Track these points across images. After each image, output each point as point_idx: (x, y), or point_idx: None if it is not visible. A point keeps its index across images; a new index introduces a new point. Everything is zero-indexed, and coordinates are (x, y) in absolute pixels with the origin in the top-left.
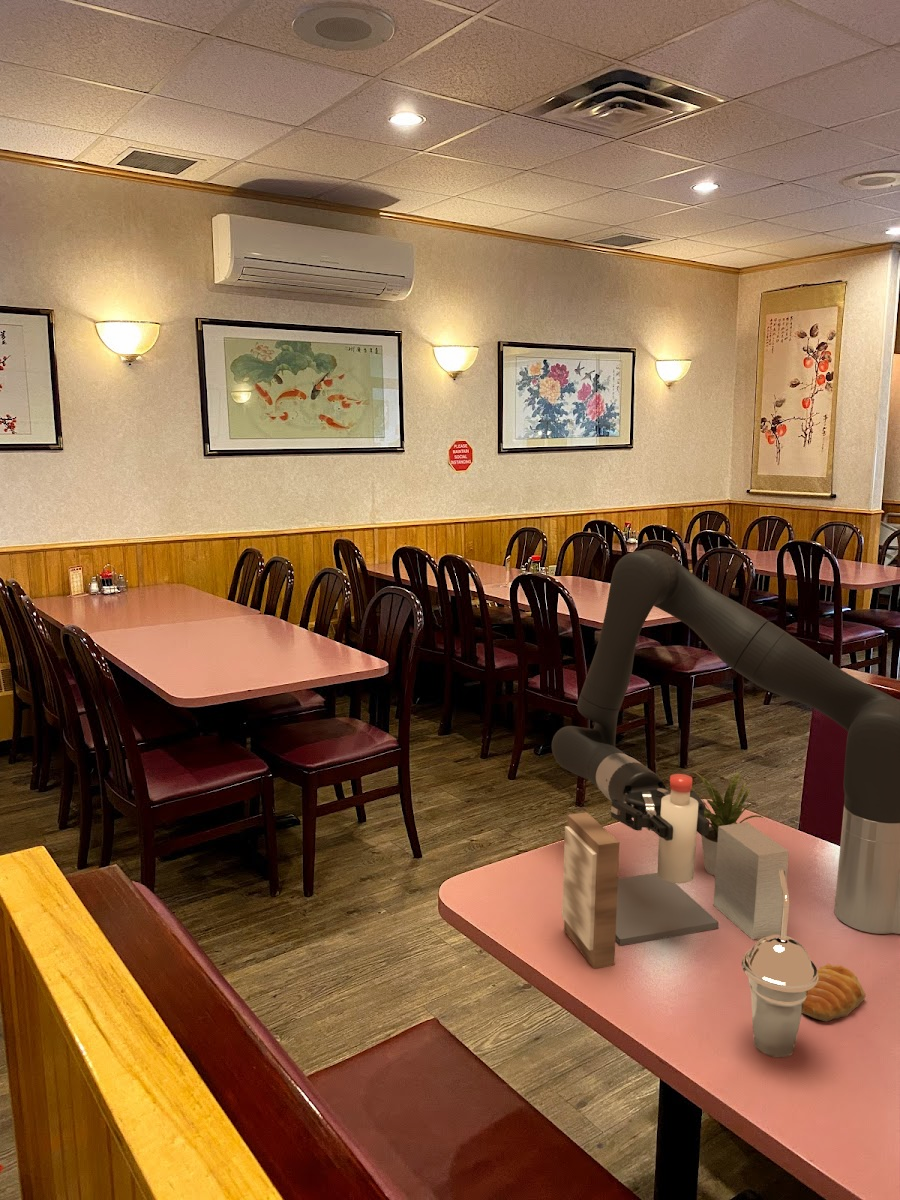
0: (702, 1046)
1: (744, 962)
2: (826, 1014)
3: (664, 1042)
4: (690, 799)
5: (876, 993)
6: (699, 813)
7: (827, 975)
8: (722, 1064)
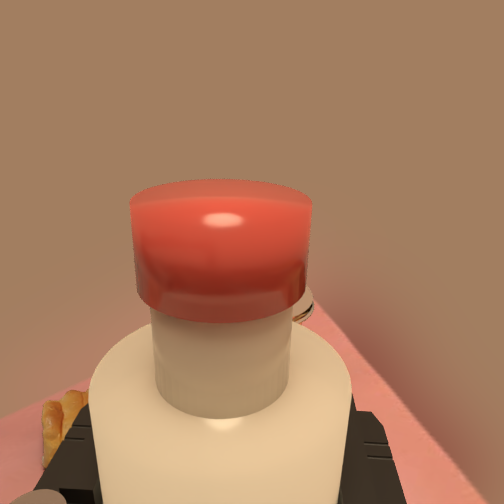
0: None
1: (309, 305)
2: None
3: (412, 446)
4: (128, 372)
5: (12, 427)
6: (36, 487)
7: None
8: None
